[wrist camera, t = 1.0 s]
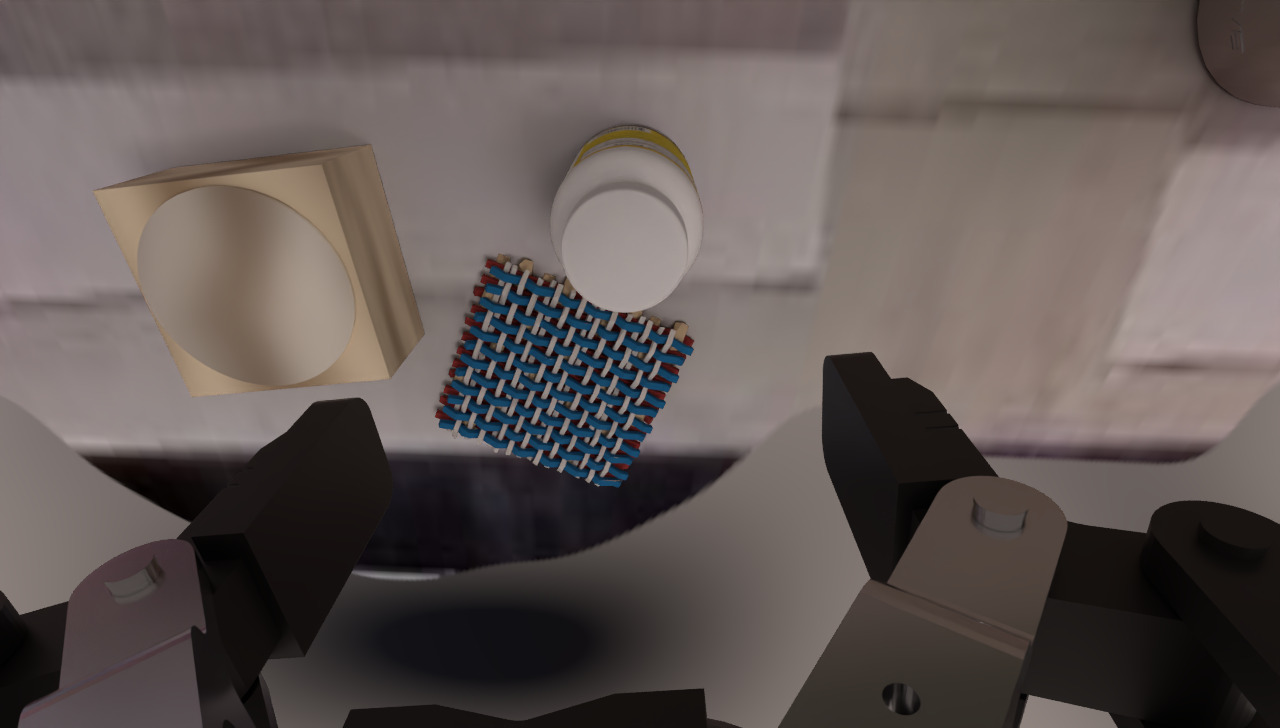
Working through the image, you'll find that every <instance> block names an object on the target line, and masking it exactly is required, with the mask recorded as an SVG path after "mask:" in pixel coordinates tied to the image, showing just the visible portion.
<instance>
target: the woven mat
mask: <svg viewBox="0 0 1280 728" xmlns="http://www.w3.org/2000/svg"><path fill="white" fill-rule="evenodd" d="M509 261H510V258H509V257H506V256H504V255H501V254H499V255H498V257H497V260H496V261H493V260H491V259H488V260H487V263H486V265H485V267H487V268H489V269H491V270H490V273H491V275H490V276H488V275H485V274H484V275H483V276H482V278H481V281H480V282H481V283H483V284H486V287H485V288H483V287H475V289H474V292H473V293H474V296H479V297H481V299H480V302H479V304H480V306H478V305H475V304H473V306H472V308H471V311H470V312H472V313H475V315H474V317H473V318H474V319H471V318H468V317H466V319H465V324H467V325H469V326H471V328H470V331H469V332H470V333H468V332H464V333H463V336H462V339H461V340H464V341H466V342H465V344H464V347H463V346H459V347H458V349H457V352H456V353H457V354H460V355H461V358H460V360H459V359H457V358H455V359H454V361H453V364H452V366H453V367H455V368H456V369H450V371H449V376H450V377H454V380H453V381H452V384H451V386H449V385H446V386H445V389H444V393H447V394H449V395H448V397H447V396H441V398H440V400H439V401H440V402H441V403H442V404H444V405H445V406H444V408H443V411H442V410H439V409H438V410H437V412H436V415H435V417H436V418H439V419H440V422H439V428H445V429H447V430H448V431H452V430H453V433H452V436H453V437H454V438H456V436H457V433H458V432H459V433H460V434H461V436H464V438H466V439H468V438H478V441H477V445H478V444H482V441H483V440H484V441H485V442H487V443H488V444H487V445H488V446H490V447H491V448H492V446H493V447H494V449H493V452H495V453H498V450H499V448H507V450H506V455H510V453H511V451H512V452H513V454H514V455H517V456H516V457H519V458H521V457H527V459H529V460H531V459H532V457H534V458H535V460H534V461H533V463H534V464H535V465H537V464H538V462H541V463H542V464H543V465H544V467H547V468H549V467H559V468H558V471H559V472H560V473H561V472H562V471H563V469H564V470H566V471H567V472H568V473H570V474H571V475H573V476H574V477H577V478H579V477H587V479H586V481H587V482H588V483H590V481H591V480H592V481H593V482H594V483H595V485H597V486H615V487H619V486H620V484H621V482H622V480H626V479H627V477H628V473H627V472H625V471H621V470H620V469H628V467H629V465H630V464H631V463H632V461H633V459H634V457H637V458H638V456H639V454H640V451H639V449H638V448H639V446H640V442H638V441H636V440H639V441H641V442H642V441H643V440H644V438H645V436H646V433H649V434H650V433H651V431H652V429H653V427H652V426H651V425H649V424H650V423H651V422H652V420H653V417H654V418H655V416H656V415H657V413H658V411H659V408H661V409H663V408H664V406H665V404H666V402H665V401H664V398H665V396H666V394H665V393H664V392H661V391H658V390H662V391H665V392H668V391H669V390H670V388H671V386H672V385H671V384H672V382H674V383H677V381H678V379H679V376H678V372H679V369H678V368H676V367H674V366H672V365H670V364H669V363H672V364H677V365H679V366H682V364H683V363H684V361H685V359H686V355H685V354H687V355H690V356H691V354H692V352H693V350H694V349H693V348H692V347H691V346H692V344H693V342H694V340H692V339H691V338H689V337H688V336H686V332H687V329H688V327H689V326H687V325H686V324H684V323H679V322H675V325H674V328H673V329H671V328H664V327H659V325H660V321H661V319H658V318H656V317H653V316H651V318H650V320H648V322H645V319H646V317H642V311H643V310H642V311H637V312H628V314H627V315H626V314H624V313H621V312H613V311H609V310H605V309H602V308H600V307H598V306H596V305H594V304H592V303H590V302H589V301H587V300H586V299H585V298H583V297H582V296H581V295H580V294H579V293H578V292H577V291H576V290H575V289H574V287H573V286H572V284H571V283H570V281H569V280H568V278H566V280H565V283H564V285H563V284H558V283H557V281H555V280H554V279H555V277H554V276H552V275H549V274H547V273H545V274H544V276H543V279H541V278H540V277H539V278H536V277H534V276H531V274H532V269H533V262H532V261H529V260H526V259H525V260H524V261H522V262H521V263H520V264H519V269H518V270H517V265H512V268H511V264H512V263H510V262H509ZM505 282H506V283H505ZM512 283H513V284H514V285H512ZM526 289H528V290H530V291H531V292H532V293H533V294H532V293H530V292H527V291H526ZM551 297H553V299H552V301H550V298H551ZM497 302H498V303H499V304H497ZM521 305H527V306H528V307H527V308H526V307H524V306H521ZM570 308H573V309H578V310H577V311H575V310H573V309H570ZM565 321H566V322H567V323H568V324H566V323H564V322H565ZM489 324H490V325H489ZM569 324H570V325H569ZM587 330H588V331H590V332H587ZM639 333H642V335H641V336H638V334H639ZM514 334H517V336H516V335H514ZM564 338H566V339H564ZM611 341H615V342H611ZM660 344H665V345H664V346H663V345H660ZM677 350H679V351H680V352H682V353H684V354H682V353H680V352H677ZM503 352H504V353H503ZM601 352H603V353H604V354H602V353H601ZM528 355H530V356H528ZM620 360H621V361H620ZM627 362H628V363H627ZM572 364H573V365H572ZM554 365H555V366H554ZM602 368H603V369H602ZM650 372H651V373H650ZM634 380H635V381H634ZM518 381H519V382H518ZM540 381H541V382H542V383H539V382H540ZM468 384H469V385H470V386H468ZM565 384H566V385H565ZM588 394H591V395H588ZM610 394H612V395H610ZM576 409H577V410H578V411H575V410H576ZM506 412H507V415H506V414H505V413H506ZM643 420H644V421H645V422H646V423H647V424H646V423H644V422H643ZM475 427H476V428H477V429H475ZM519 432H521V433H519ZM611 437H612V438H614V439H610V438H611ZM541 438H542V441H540V439H541ZM553 458H557V459H553ZM577 466H579V467H578V468H577ZM618 468H619V469H618Z"/></svg>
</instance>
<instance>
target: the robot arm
mask: <svg viewBox="0 0 1280 728" xmlns="http://www.w3.org/2000/svg"><path fill="white" fill-rule="evenodd" d="M1197 26H1198V40H1199V47H1200V50H1201V53H1202V56H1203V59H1204V62H1205V65H1206V67H1207V69H1208V70H1209V72H1210V73H1211V75H1212V76H1213V77H1214V79H1215V80H1216V82H1217V83H1218V84H1219V85H1220V86H1221V87H1223V88H1224V89H1225V90H1226V91H1228V92H1229V93H1230V94H1232V95H1233V96H1234V97H1236V98H1239V99H1242V100H1244V101H1247V102H1250V103H1252V104H1255V105H1263V106H1270V107H1278V108H1280V0H1200V3H1199V10H1198V17H1197ZM822 444H823V452H824V459H825V463H826V467H827V470H828V473H829V475H830V478H831V481H832V483H833V485H834V488H835V491H836V493H837V496H838V498H839V500H840V503H841V506H842V508H843V511H844V513H845V515H846V518H847V520H848V523H849V526H850V528H851V530H852V533H853V536H854V538H855V541H856V543H857V546H858V548H859V551H860V553H861V556H862V558H863V560H864V563H865V566H866V568H867V571H868V573H869V576H870V578H871V579H870V580H869V581H868V582H867V583H866V584H865V585H864V586H863V588H862V589H861V591H860V592H859V594H858V596H857V597H856V599H855V601H854V602H853V604H852V605H851V607H850V609H849V611H848V612H847V614H846V615H845V617H844V619H843V620H842V622H841V624H840V625H839V627H838V629H837V630H836V632H835V634H834V635H833V637H832V639H831V640H830V642H829V644H828V645H827V647H826V649H825V650H824V652H823V654H822V655H821V657H820V658H819V660H818V662H817V664H816V665H815V667H814V669H813V670H812V672H811V673H810V675H809V677H808V678H807V680H806V682H805V683H804V685H803V687H802V688H801V690H800V692H799V693H798V695H797V697H796V698H795V700H794V702H793V703H792V705H791V707H790V708H789V710H788V712H787V713H786V715H785V717H784V718H783V720H782V721H781V723H780V725H779V726H778V728H1020V724H1021V721H1022V717H1023V714H1024V710H1025V707H1026V703H1027V700H1028V697H1029V695H1032V696H1037V697H1041V698H1046V699H1051V700H1055V701H1060V702H1064V703H1069V704H1073V705H1078V706H1082V707H1087V708H1091V709H1096V710H1100V711H1105V712H1109V714H1110V716H1111V717H1112V719H1113V721H1114V722H1115V724H1116V725H1117V727H1118V728H1280V524H1278V523H1276V522H1274V521H1272V520H1270V519H1268V518H1265V517H1263V516H1261V515H1258V514H1256V513H1253V512H1250V511H1248V510H1245V509H1241V508H1238V507H1234V506H1230V505H1226V504H1221V503H1215V502H1207V501H1178V502H1173V503H1169V504H1166V505H1164V506H1162V507H1160V508H1159V509H1157V510H1156V511H1155V512H1154V514H1153V515H1152V517H1151V521H1150V524H1149V527H1148V530H1147V533H1140V532H1133V531H1125V530H1118V529H1110V528H1103V527H1096V526H1088V525H1083V524H1077V523H1073V522H1069V521H1067V520H1066V517H1065V515H1064V513H1063V511H1062V510H1061V508H1060V507H1059V506H1058V505H1057V504H1056V503H1055V502H1054V501H1053V500H1052V499H1051V498H1049V497H1048V496H1046V495H1045V494H1044V493H1042V492H1040V491H1038V490H1036V489H1035V488H1032V487H1030V486H1028V485H1026V484H1023V483H1020V482H1017V481H1014V480H1010V479H1005V478H1000V477H998V475H997V474H996V473H995V471H994V470H993V469H992V468H991V467H990V465H989V464H988V462H987V461H986V460H985V459H984V457H983V456H982V455H981V453H980V452H979V451H978V450H977V448H976V447H975V446H974V444H973V443H972V442H971V441H970V439H969V438H968V437H967V435H966V434H965V433H964V432H963V430H962V429H959V427H958V424H957V423H956V421H955V420H954V419H953V417H952V416H951V415H950V414H947V410H946V409H945V407H944V406H943V405H942V403H941V402H940V401H939V400H938V398H937V397H936V396H935V394H934V393H933V392H932V391H930V390H928V389H927V388H925V387H923V386H921V385H920V384H918V383H916V382H914V381H913V380H911V379H909V378H897V379H891V378H890V377H889V375H888V374H887V372H886V371H885V369H884V368H883V366H882V365H881V364H880V362H879V361H878V359H877V358H876V356H875V355H874V354H873V353H872V352H863V353H852V354H841V355H830V356H826V357H825V360H824V364H823V401H822ZM242 470H243V471H242V472H238V474H237V475H236V476H235V477H234V478H233V479H232V480H231V481H230V482H229V483H228V484H227V489H223V490H222V491H221V492H220V493H219V494H218V495H217V496H216V497H215V498H214V499H213V500H212V501H211V502H210V503H209V504H208V506H207V507H206V508H205V509H204V510H203V511H202V512H201V513H200V514H199V515H198V516H197V517H196V518H195V519H194V520H193V522H192V523H191V524H190V525H189V526H188V527H187V528H186V529H185V530H184V531H183V532H182V533H181V534H180V535H179V537H178V538H177V539H168V540H160V541H155V542H151V543H148V544H144V545H141V546H139V547H136V548H133V549H131V550H129V551H127V552H124V553H122V554H120V555H118V556H117V557H114V558H113V559H111V560H109V561H108V562H106V563H104V564H103V565H101V566H100V567H99V568H97V569H96V570H95V571H93V572H92V573H91V574H89V575H88V576H87V577H86V578H85V579H84V580H83V581H82V582H81V583H80V584H79V585H78V586H77V588H76V589H75V590H74V591H73V594H72V595H71V597H70V600H69V601H67V602H64V603H61V604H57V605H54V606H50V607H46V608H43V609H39V610H36V611H33V612H29V613H26V614H22V615H19V614H18V612H17V611H16V609H15V608H14V607H13V605H12V604H11V603H10V601H9V600H8V599H7V597H6V596H5V595H4V593H3V592H2V591H0V728H278V724H277V720H276V716H275V712H274V708H273V704H272V700H271V696H270V692H269V688H268V685H267V683H266V681H265V679H264V677H263V675H262V674H261V670H262V668H263V667H264V665H265V663H266V662H267V660H268V659H280V658H295V657H305V655H306V653H307V651H308V650H309V648H310V646H311V644H312V642H313V641H314V639H315V637H316V635H317V633H318V631H319V629H320V628H321V626H322V624H323V623H324V621H325V619H326V617H327V615H328V614H329V612H330V610H331V608H332V606H333V604H334V603H335V601H336V599H337V597H338V596H339V594H340V592H341V590H342V588H343V587H344V585H345V583H346V581H347V579H348V578H349V576H350V574H351V572H352V570H353V569H354V567H355V565H356V563H357V561H358V560H359V558H360V556H361V554H362V552H363V551H364V549H365V547H366V545H367V543H368V542H369V540H370V538H371V536H372V534H373V533H374V531H375V529H376V527H377V525H378V524H379V522H380V520H381V518H382V516H383V515H384V513H385V511H386V509H387V507H388V505H389V503H390V500H391V496H392V488H393V481H392V474H391V469H390V466H389V463H388V460H387V457H386V455H385V452H384V449H383V446H382V443H381V440H380V437H379V434H378V431H377V428H376V425H375V422H374V419H373V417H372V414H371V411H370V408H369V406H368V405H367V403H366V402H365V401H364V400H363V399H361V398H348V399H337V400H326V401H317V402H314V403H313V404H312V405H311V406H310V407H309V408H308V409H307V410H306V411H305V412H304V413H303V415H302V416H301V417H300V418H299V419H298V420H297V421H296V422H295V423H294V424H293V425H292V427H291V428H290V429H289V430H288V431H287V432H286V433H284V434H283V435H281V436H280V437H278V438H277V439H275V440H274V441H272V442H270V443H269V444H267V445H266V446H264V447H263V448H261V449H260V450H259V451H258V452H257V453H256V454H255V455H254V456H253V458H252V459H251V460H250V461H249V462H248V463H247V464H246V465H245V466H244V467H243V468H242ZM343 728H741V727H738V726H735V725H732V724H729V723H726V722H722V721H718V720H713V719H708V718H707V714H706V704H705V694H704V689H686V690H670V691H653V692H637V693H620V694H612V695H609V696H606V697H603V698H599V699H596V700H593V701H589V702H586V703H582V704H579V705H576V706H572V707H569V708H566V709H562V710H559V711H556V712H552V713H549V714H545V715H542V716H539V717H536V718H532V719H528V720H524V721H513V720H507V719H502V718H497V717H492V716H488V715H483V714H478V713H474V712H469V711H464V710H459V709H454V708H450V707H444V706H440V705H419V706H403V707H386V708H369V709H353V710H350V712H349V715H348V717H347V719H346V721H345V723H344V726H343Z"/></svg>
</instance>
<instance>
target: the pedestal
mask: <svg viewBox="0 0 1280 728" xmlns="http://www.w3.org/2000/svg"><path fill="white" fill-rule="evenodd" d="M93 193H94V195H95V197H96V199H97V201H98V203H99V205H100V207H101V209H102V211H103V214H104V216H105V218H106V220H107V222H108V224H109V226H110V228H111V230H112V232H113V234H114V236H115V238H116V241H117V243H118V245H119V247H120V249H121V251H122V253H123V255H124V257H125V259H126V261H127V263H128V265H129V268H130V270H131V272H132V274H133V276H134V278H135V280H136V282H137V284H138V286H139V288H140V290H141V293H142V295H143V297H144V299H145V301H146V303H147V305H148V307H149V309H150V311H151V313H152V315H153V317H154V320H155V322H156V324H157V326H158V328H159V330H160V332H161V334H162V336H163V338H164V340H165V342H166V344H167V347H168V349H169V351H170V353H171V355H172V357H173V359H174V361H175V363H176V365H177V367H178V369H179V371H180V374H181V376H182V378H183V380H184V382H185V384H186V386H187V388H188V390H189V392H190V394H191V396H192V397H198V396H209V395H220V394H231V393H242V392H253V391H264V390H275V389H286V388H297V387H308V386H319V385H330V384H340V383H351V382H362V381H373V380H384V379H391V377H392V376H393V375H394V373H395V372H396V371H397V369H398V368H399V367H400V366H401V364H402V363H403V362H404V360H405V359H406V358H407V356H408V355H409V354H410V352H411V351H412V350H413V348H414V347H415V346H416V344H417V343H418V342H419V341H420V339H421V338H422V337H423V335H424V330H423V327H422V323H421V320H420V316H419V313H418V309H417V306H416V302H415V298H414V295H413V291H412V288H411V284H410V281H409V277H408V274H407V270H406V267H405V263H404V260H403V256H402V253H401V249H400V246H399V242H398V239H397V235H396V232H395V228H394V225H393V221H392V218H391V214H390V210H389V207H388V203H387V200H386V196H385V193H384V189H383V186H382V182H381V179H380V175H379V172H378V168H377V165H376V161H375V158H374V154H373V151H372V147H371V145H363V146H355V147H346V148H338V149H329V150H320V151H312V152H303V153H295V154H286V155H278V156H269V157H261V158H252V159H244V160H235V161H226V162H218V163H209V164H201V165H192V166H184V167H175V168H171V169H167V170H164V171H160V172H157V173H153V174H150V175H146V176H143V177H139V178H136V179H132V180H129V181H125V182H122V183H118V184H115V185H111V186H108V187H104V188H101V189H97V190H94V191H93Z"/></svg>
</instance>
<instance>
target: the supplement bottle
mask: <svg viewBox="0 0 1280 728" xmlns="http://www.w3.org/2000/svg"><path fill="white" fill-rule="evenodd" d="M550 233H551V239H552V244H553V247H554V250H555V253H556V255H557V257H558V259H559V261H560V263H561V264H562V266H563V268H564V271H565V273H566V276H567V278H568V280H569V281H570V283H571V284H572V286H573V287H574V289H575V290H576V291H577V292H578V293H579V294H580V295H581V296H582V297H583V298H585V299H586V300H587V301H589V302H590V303H592V304H594V305H596V306H598V307H600V308H602V309H605V310H609V311H613V312H622V313H628V312H637V311H642V310H645V309H648V308H650V307H653V306H655V305H657V304H658V303H660V302H661V301H663V300H664V299H665V298H667V297H668V296H669V295H670V294H671V293H672V292H673V291H674V289H675V288H676V287H677V285H678V284H679V282H680V281H681V279H682V278H683V277H684V275H685V274H686V273H687V272H688V270H689V269H690V267H691V266H692V264H693V263H694V261H695V259H696V257H697V255H698V252H699V250H700V246H701V242H702V237H703V212H702V206H701V202H700V199H699V196H698V193H697V189H696V186H695V183H694V180H693V177H692V174H691V171H690V168H689V165H688V163H687V161H686V159H685V157H684V155H683V154H682V152H681V151H680V149H679V148H678V147H677V146H676V144H675V143H673V142H672V141H671V140H670V139H669V138H668V137H667V136H665V135H663V134H662V133H660V132H659V131H657V130H654V129H652V128H649V127H646V126H642V125H636V124H624V125H618V126H614V127H610V128H608V129H605V130H603V131H601V132H600V133H598V134H596V135H595V136H594V137H592V138H591V139H590V140H589V141H588V142H587V143H586V144H585V145H584V146H583V147H582V148H581V150H580V151H579V153H578V154H577V156H576V158H575V159H574V161H573V163H572V165H571V167H570V169H569V171H568V173H567V174H566V176H565V178H564V180H563V182H562V183H561V185H560V187H559V189H558V191H557V193H556V196H555V198H554V201H553V205H552V209H551V215H550Z"/></svg>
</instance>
